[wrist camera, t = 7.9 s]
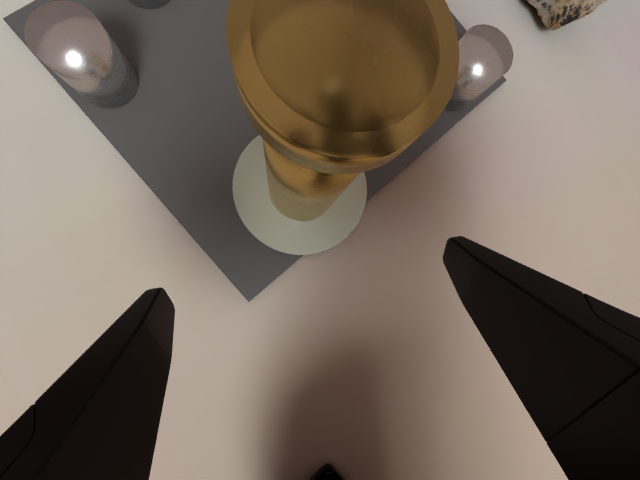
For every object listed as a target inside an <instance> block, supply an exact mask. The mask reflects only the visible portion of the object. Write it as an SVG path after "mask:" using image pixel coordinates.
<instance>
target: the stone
mask: <svg viewBox="0 0 640 480" xmlns="http://www.w3.org/2000/svg"><path fill="white" fill-rule="evenodd" d="M527 1H528V2H529V3H530V4H531V5H532V6H534V7H535V8H536V9H537V13H538V15H539V16H540V17H541V21H542V22H543V23H544V25H545V27H547V28H548V29H549V30H557V29H559V28H560V27H562V26H564V25H566V24H568V23H570V22H572V21H575V20H578V19H581V18H582V17H584V16H586V15H588V14H590V13H591V12H592V11H594V10H595V9H596V8H597V7H598V6H599V5H601V4H602V3H604V2H605V1H607V0H527Z"/></svg>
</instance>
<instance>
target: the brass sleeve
mask: <svg viewBox="0 0 640 480" xmlns="http://www.w3.org/2000/svg"><path fill="white" fill-rule="evenodd" d="M226 37H227V46H228V51H229V55H230V60H231V64H232V69H233V73H234V77H235V82H236V86H237V90H238V94H239V98H240V101H241V104H242V106H243V109H244V111H245V113H246V115H247V117H248V119H249V121H250V122H251V124H252V126H253V127H254V128H255V130H256V131H257V132H258V134H259V135H260V136H261V137H262V138H263V147H264V155H265V163H266V172H267V180H268V188H269V195H270V199H271V201H272V203H273V205H274V206H275V208H276V209H277V210H278V211H279V212H280V213H281V214H282V215H284V216H285V217H287V218H289V219H292V220H296V221H309V220H313V219H316V218H318V217H319V216H321V215H322V214H324V213H325V212H326V211H327V210H328V208H329V207H330V206H331V205H332V204H333V203H334V202H335V201H336V199H337V198H338V197H339V196H340V195H341V194H342V193H343V192H344V191H345V189H346V188H347V187H348V186H349V185H350V184H351V183H352V182H353V180H354V179H355V178H356V177H357V176H358V175H359V174H360V173H361V172H365V171H369V170H372V169H375V168H377V167H380V166H382V165H384V164H386V163H388V162H389V161H391V160H393V159H394V158H395V157H397V156H398V155H399V154H401V153H402V152H403V151H404V150H405V149H406V148H407V147H408V146H409V145H411V144H412V143H413V142H414V141H415V140H416V139H417V138H418V137H419V136H420V135H422V134H423V133H424V132H425V131H426V130H427V129H428V128H429V127H430V126H431V125H432V124H433V123H434V122H435V121H436V120H437V118H438V117H439V116H440V115H441V113H442V112H443V111H444V109H445V107H446V105H447V104H448V102H449V100H450V98H451V95H452V93H453V90H454V87H455V84H456V80H457V75H458V69H459V43H458V37H457V31H456V27H455V24H454V21H453V17H452V15H451V13H450V10H449V8H448V6H447V3H446V2H445V0H230V1H229V6H228V11H227V16H226Z"/></svg>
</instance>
